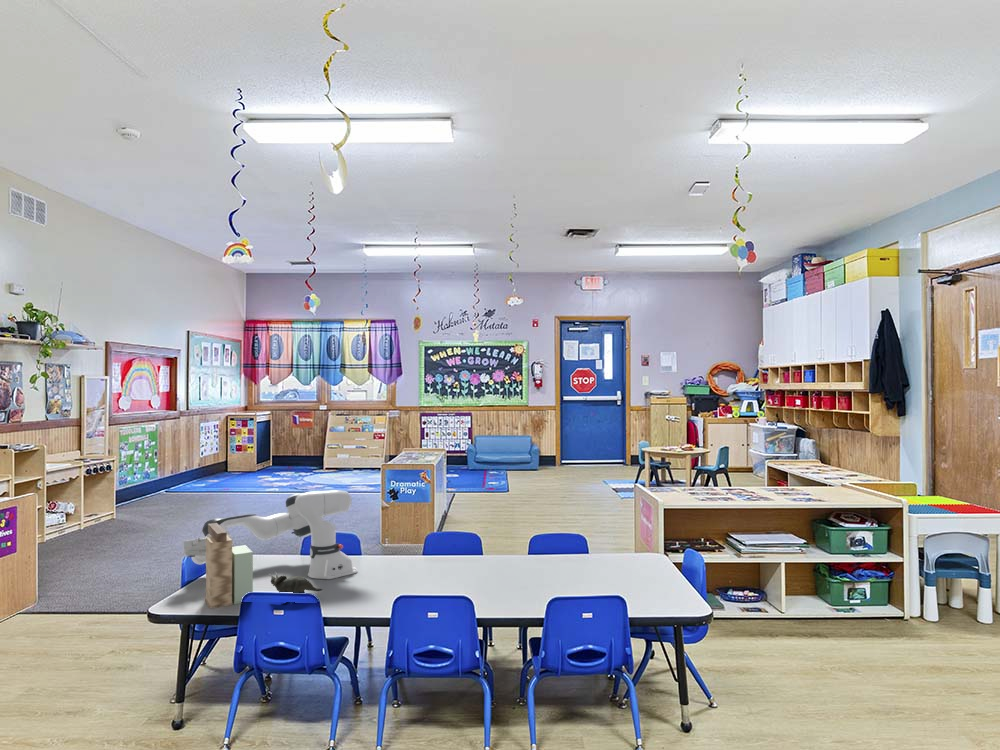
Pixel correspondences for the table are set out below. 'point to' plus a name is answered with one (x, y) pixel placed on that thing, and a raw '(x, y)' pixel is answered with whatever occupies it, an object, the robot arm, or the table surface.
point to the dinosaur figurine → (292, 584)
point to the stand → (218, 572)
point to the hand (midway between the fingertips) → (210, 538)
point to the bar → (217, 532)
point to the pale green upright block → (241, 572)
